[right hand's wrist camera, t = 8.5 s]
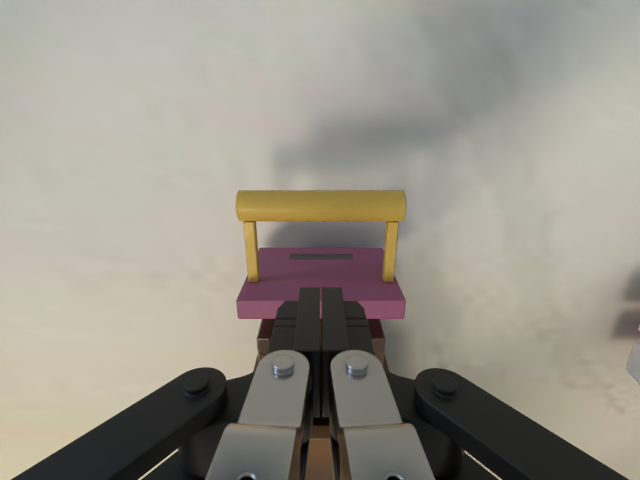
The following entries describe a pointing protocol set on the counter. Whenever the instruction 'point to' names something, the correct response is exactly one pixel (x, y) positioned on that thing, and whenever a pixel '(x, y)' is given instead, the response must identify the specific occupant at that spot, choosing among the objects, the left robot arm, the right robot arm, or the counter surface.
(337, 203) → the drawer
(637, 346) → the toy
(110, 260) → the counter surface
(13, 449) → the counter surface
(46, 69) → the counter surface
